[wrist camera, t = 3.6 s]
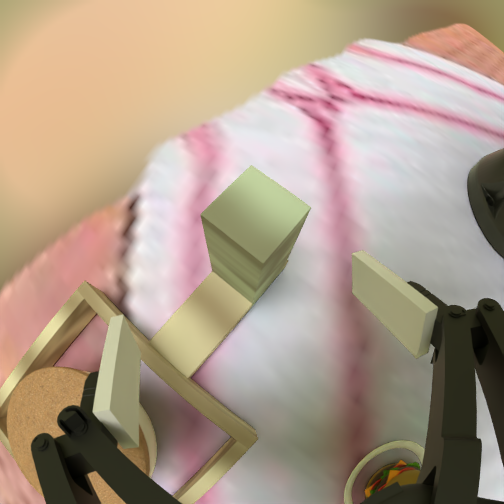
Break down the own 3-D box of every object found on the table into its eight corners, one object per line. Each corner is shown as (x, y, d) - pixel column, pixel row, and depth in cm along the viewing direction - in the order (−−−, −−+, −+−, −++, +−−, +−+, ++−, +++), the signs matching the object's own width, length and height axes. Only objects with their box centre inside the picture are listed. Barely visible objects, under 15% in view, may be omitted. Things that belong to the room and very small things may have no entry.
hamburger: (429, 402, 23) (464, 405, 18) (441, 498, 19) (472, 512, 14) (311, 451, 22) (329, 469, 17) (334, 548, 18) (352, 576, 13)
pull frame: (194, 195, 28) (177, 109, 18) (345, 313, 25) (412, 276, 15) (5, 413, 20) (-75, 416, 9) (133, 543, 16) (91, 607, 6)
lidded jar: (193, 410, 22) (169, 434, 13) (143, 506, 18) (106, 556, 10) (84, 345, 23) (20, 330, 15) (43, 439, 20) (-21, 455, 11)
